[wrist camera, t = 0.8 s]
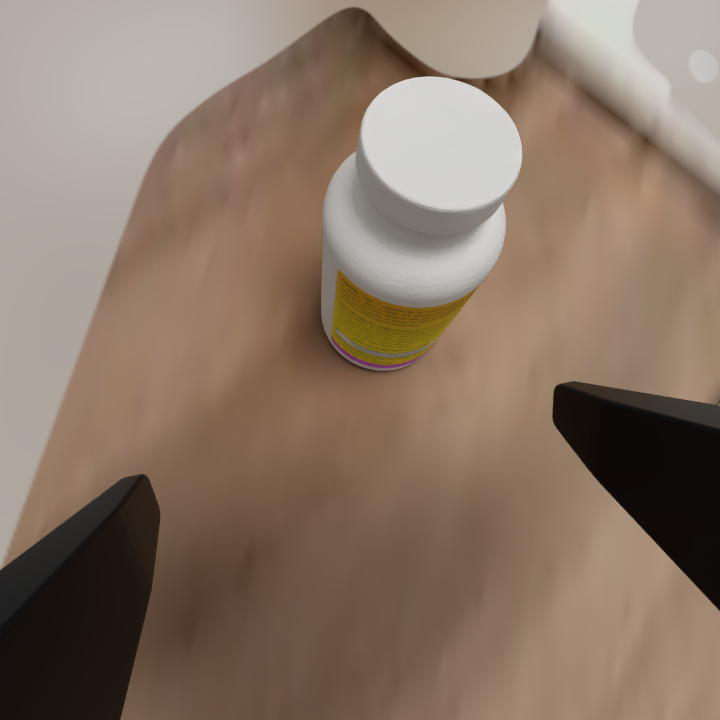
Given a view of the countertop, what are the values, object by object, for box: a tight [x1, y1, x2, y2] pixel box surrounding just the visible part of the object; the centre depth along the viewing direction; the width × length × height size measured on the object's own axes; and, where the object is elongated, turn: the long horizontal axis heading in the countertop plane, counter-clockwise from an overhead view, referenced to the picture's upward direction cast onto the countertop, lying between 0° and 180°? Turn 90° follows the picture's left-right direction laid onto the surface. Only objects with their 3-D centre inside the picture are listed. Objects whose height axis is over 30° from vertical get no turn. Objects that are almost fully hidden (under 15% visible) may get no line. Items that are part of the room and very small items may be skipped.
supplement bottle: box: [321, 77, 522, 371], centre depth 18 cm, size 7×7×13 cm
